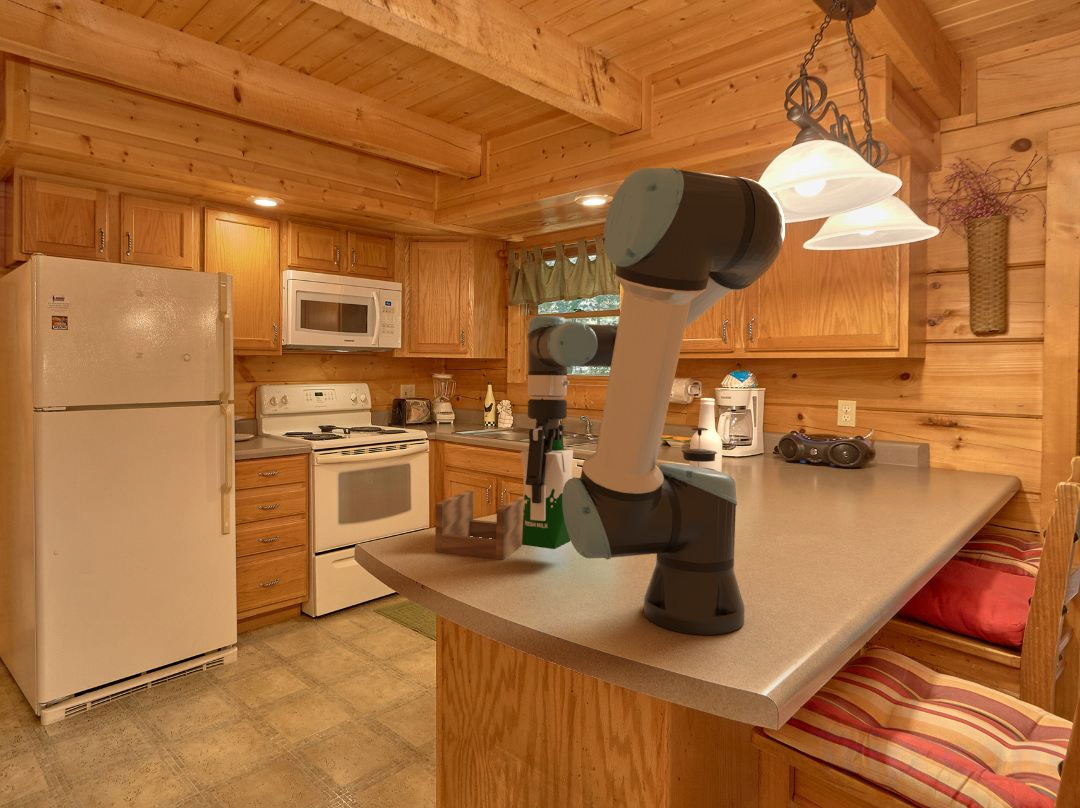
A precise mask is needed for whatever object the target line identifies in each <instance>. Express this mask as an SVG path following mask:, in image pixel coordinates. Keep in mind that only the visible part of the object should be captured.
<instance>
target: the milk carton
mask: <svg viewBox="0 0 1080 808" xmlns="http://www.w3.org/2000/svg"><path fill="white" fill-rule="evenodd" d="M528 453H529V449H526V450H524V451H520V457H521V464H522V470H523V471H522V472H523V475H522V477H523V478H522V479H523V485H522V487H523V493H522V496H523V530H522V545H523V546H527V547H535V548H543V549H550V550H556V549H558V548H561V547H562V546H563V545H566V544H567V543H568V544H569V543H570V542H571V540H570V538H569V535H568V532H567V529H566V524H565V520H564V514H563V505H562V495H563V488H564V485H565V483H566V482H567V481H568V480H569V479H572V478H573V475H572V473H573V472H572V471H573V470H572V469H573V458H574V449H566V448H564V449H562V439H560V440H553V445H552V450H551V452H549V453H544V454H546V467H545V479H544V485H546V520H545V521H538V520H530V515H531V485H526V476H527V464H528Z"/></svg>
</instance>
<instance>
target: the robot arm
mask: <svg viewBox="0 0 1080 808" xmlns="http://www.w3.org/2000/svg"><path fill="white" fill-rule="evenodd" d="M622 181H623V182H622V183H620V185H619V186H618V188H617V189H616V191H615V192H614V194H613V197H612V199H611V202H610V204H609V207H608V210H607V214H606V216H605V222H604V228H603V239H604V240H605V242H604V243H603V248H604V254H605V256H606V258H607V259H608V261H609V262H610V263H611V264H613V265H615V271H614V277H615V279H616V280H617V281H618V283H619V285H620V286H622V289H623V295H622V300H621V305H620V312H619V316H618V324H591V323H589V324H587V323H584V322H580V321H568V320H567V319H566V317H563V316H555V315H540V316H534V317H531V318H530V319H529V321H528V332H527V335H526V337H527V343H528V344H527V396H528V397H530V399H528V400H527V417H528V419H530V420H535V427H534V428H532V429H531V428H530V429H529V432H528V437H529V439H528V440H529V442H528V450H529V453H528V464H527V476H526V485H531V515H530V520H538V521H545V520H546V485H544V479H545V467H546V454H544V453H549V452H551V450H552V445H553V440H560V439H562V449H565V447H564V425H563V424H562V425H561V424H560V425H559V421H558V420H565V419H567V416H568V409H567V408H568V401H567V400H566V399H565V398H564V397H566V396H567V395H568V390H567V389H568V386H570V383H571V382H570V381H569V380H568V368H570V367H588V368H589V367H598V368H601V367H605V368H606V367H607V368H610V369H609V374H608V375H609V376H608V379H607V387H606V392H605V398H604V404H603V409H602V415H601V419H600V421H601V422H600V426H599V432H598V438H597V443H596V450H595V452H594V453H592V454H590V455H589V456H587V457H586V458H585V459H584V461H583V462H582V468H581V474H580V477H575V476H572V477H571V479H569V480H568V481H567V482H566V483H565V485H564V488H563V495H562V505H563V514H564V520H565V524H566V529H567V532H568V535H569V538H570V542H571V545H572V546H573V548H574V549H575V551H576V552H577V553H578V555H580V556H581V557H583V558H585V559H605V560H611V558H612V559H613V558H622V557H635V556H644V555H645V556H646V555H656V560H655V561H656V563H655V566H654V569H653V571H652V572H653V573H652V574H651V578H650V580H649V584H648V586H647V588H646V591H645V594H644V598H643V614H644V616H645V618H646V619H648V621H650V622H652V623H653V624H655V625H657V626H658V627H659V626H660V627H661V628H664V629H668V630H671V631H675V632H679V633H685V634H691V635H692V634H693V635H702V636H703V635H708V636H709V635H721V634H727V633H732V632H735V631H737V630H738V629H741V627H743V625H744V623H745V605H744V601H743V598H742V595H741V590H740V587H739V584H738V580H737V577H736V574H735V543H736V542H735V540H736V515H737V514H736V511H737V509H736V508H737V506H738V501H737V487H736V481H735V479H734V478H733V477H732V476H731V475H729V474H728V473H726V472H719V471H715V470H710V469H705V468H700V467H694V466H690V465H685V464H679V463H678V464H677V463H661V464H659V466H658V465H657V460H658V456H659V451H660V446H661V441H662V437H663V432H664V428H665V423H666V418H667V414H668V409H669V405H670V401H671V396H672V391H673V386H674V382H675V376H676V372H677V368H678V363H679V358H680V353H681V349H682V344H683V339H684V334H685V332H686V331H685V330H686V329H687V328H688V327H690V326H691V325H692V324H693V323H694V322H696V321H697V320H698V319H700V318H701V316H703V315H704V314H706V313H707V312H708V311H709V310H710V309H711V308H713V307H714V306H715V305H716V304H718V302H720V301H721V300H723V299H724V298H725V297H727V296H728V295H729V294H730V293H732V291H737V292H738V291H742V290H745V289H748V287H751V285H753V284H754V283H756V281H758V280H759V279H760V278H762V276H763V275H765V274H766V273H767V272H768V270H770V269H771V266H773V264H774V263H775V261H776V259H778V256H779V254H780V252H781V250H782V247H783V244H784V240H785V236H786V235H785V233H786V226H785V217H784V213H783V209H782V206H780V203H779V200H778V199H776V197H775V196H774V194H773V193H772V192H771V191H770V189H768V188H766V186H764V185H763V184H761V183H760V182H757V181H755V180H754V179H750V178H746V177H741V176H728V175H720V174H715V173H706V172H701V171H700V172H699V171H693V170H692V171H691V170H684V169H678V168H675V167H642V168H638V169H637V170H635V171H633V172H631V173H630V174H629V175H628V176H626V177H625V179H624V180H622Z"/></svg>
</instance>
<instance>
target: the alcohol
mask: <svg viewBox="0 0 1080 808" xmlns="http://www.w3.org/2000/svg"><path fill="white" fill-rule="evenodd" d="M699 400H700V402H699V405H700V407H699V418H698V423H697V425H698V426H697V428H706V429H708V430H702V434H701V436H700V449H706V450H711V451H716V452H717V454H715V461H710V462H699V467H700V468H709V469H714V470H716V471H719V472H722V468H723V442H722V438H721V436H720V435H719V434H718V432H717V429H716V421H715V420H716V419H715V418H716V416H715V415H716V414H715V405H716V403H715V401H716V400H715V398H710V397H704V398H703V397H701V398H700V399H699ZM689 449H699V435H698V430H696V432H694V434H693V435H692V437H691V439H690V443H689ZM689 466H694V467H698V461H689Z"/></svg>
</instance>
